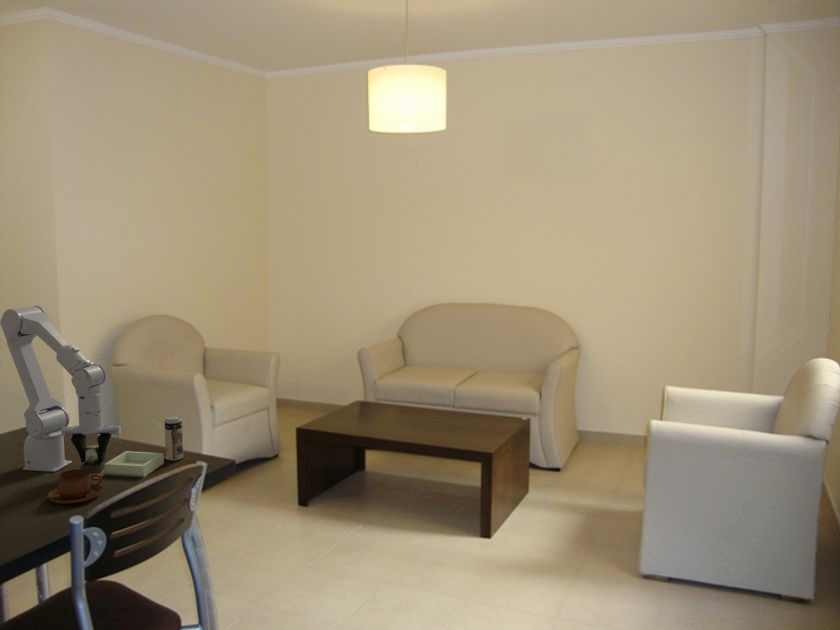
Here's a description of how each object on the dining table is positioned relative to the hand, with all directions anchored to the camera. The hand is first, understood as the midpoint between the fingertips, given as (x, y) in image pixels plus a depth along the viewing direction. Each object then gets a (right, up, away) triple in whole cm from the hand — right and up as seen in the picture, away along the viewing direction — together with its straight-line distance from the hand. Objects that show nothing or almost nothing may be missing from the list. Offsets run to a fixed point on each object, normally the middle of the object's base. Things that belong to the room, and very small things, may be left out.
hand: (92, 461), depth 200 cm
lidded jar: (+17, -2, +13) cm, 22 cm away
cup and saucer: (+3, -6, -17) cm, 18 cm away
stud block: (0, -3, 0) cm, 3 cm away
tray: (+10, -3, +4) cm, 11 cm away
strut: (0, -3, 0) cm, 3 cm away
